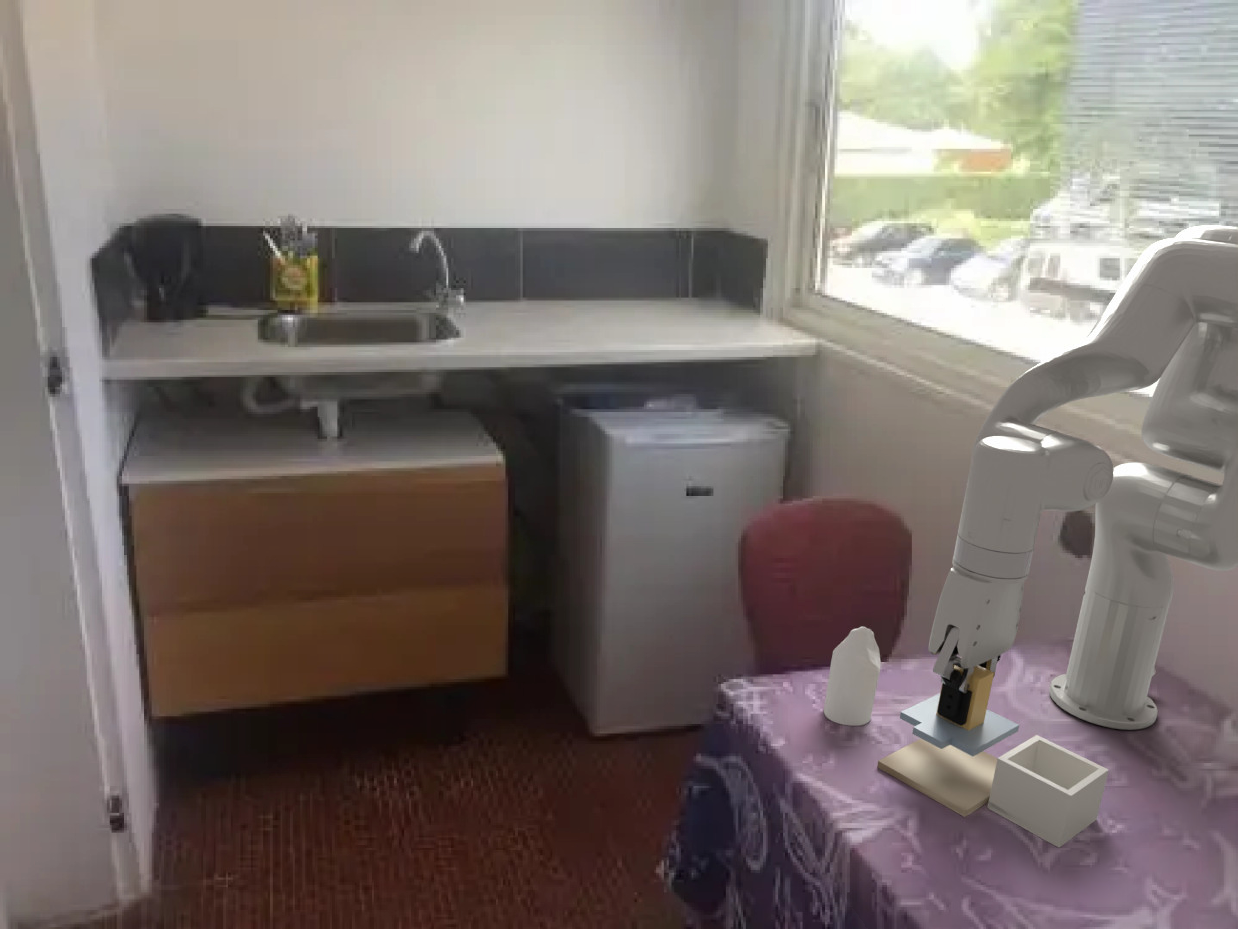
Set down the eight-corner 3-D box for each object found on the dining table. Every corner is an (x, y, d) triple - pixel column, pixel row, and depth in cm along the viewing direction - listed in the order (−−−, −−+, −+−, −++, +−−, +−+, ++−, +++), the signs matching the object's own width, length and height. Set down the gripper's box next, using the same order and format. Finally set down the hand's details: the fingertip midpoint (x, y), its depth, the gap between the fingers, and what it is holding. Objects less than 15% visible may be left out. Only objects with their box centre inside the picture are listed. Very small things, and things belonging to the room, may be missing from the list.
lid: (945, 696, 123) (956, 642, 121) (1017, 731, 117) (1030, 675, 115) (891, 722, 116) (901, 665, 114) (964, 761, 110) (976, 702, 108)
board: (938, 734, 127) (939, 728, 127) (1024, 779, 119) (1025, 773, 119) (877, 767, 119) (878, 760, 119) (964, 817, 111) (966, 810, 111)
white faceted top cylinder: (866, 610, 130) (898, 630, 125) (852, 699, 133) (882, 722, 129) (826, 617, 127) (857, 638, 122) (813, 708, 131) (842, 731, 126)
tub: (1026, 783, 118) (1036, 735, 117) (1096, 819, 113) (1108, 769, 111) (987, 808, 113) (997, 758, 111) (1059, 847, 108) (1071, 796, 106)
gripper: (1000, 531, 119) (970, 681, 125) (915, 559, 109) (887, 720, 114) (1064, 554, 114) (1030, 709, 119) (982, 585, 104) (948, 753, 109)
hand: (960, 713), depth 117 cm, fingers closed on lid, 3 cm apart
